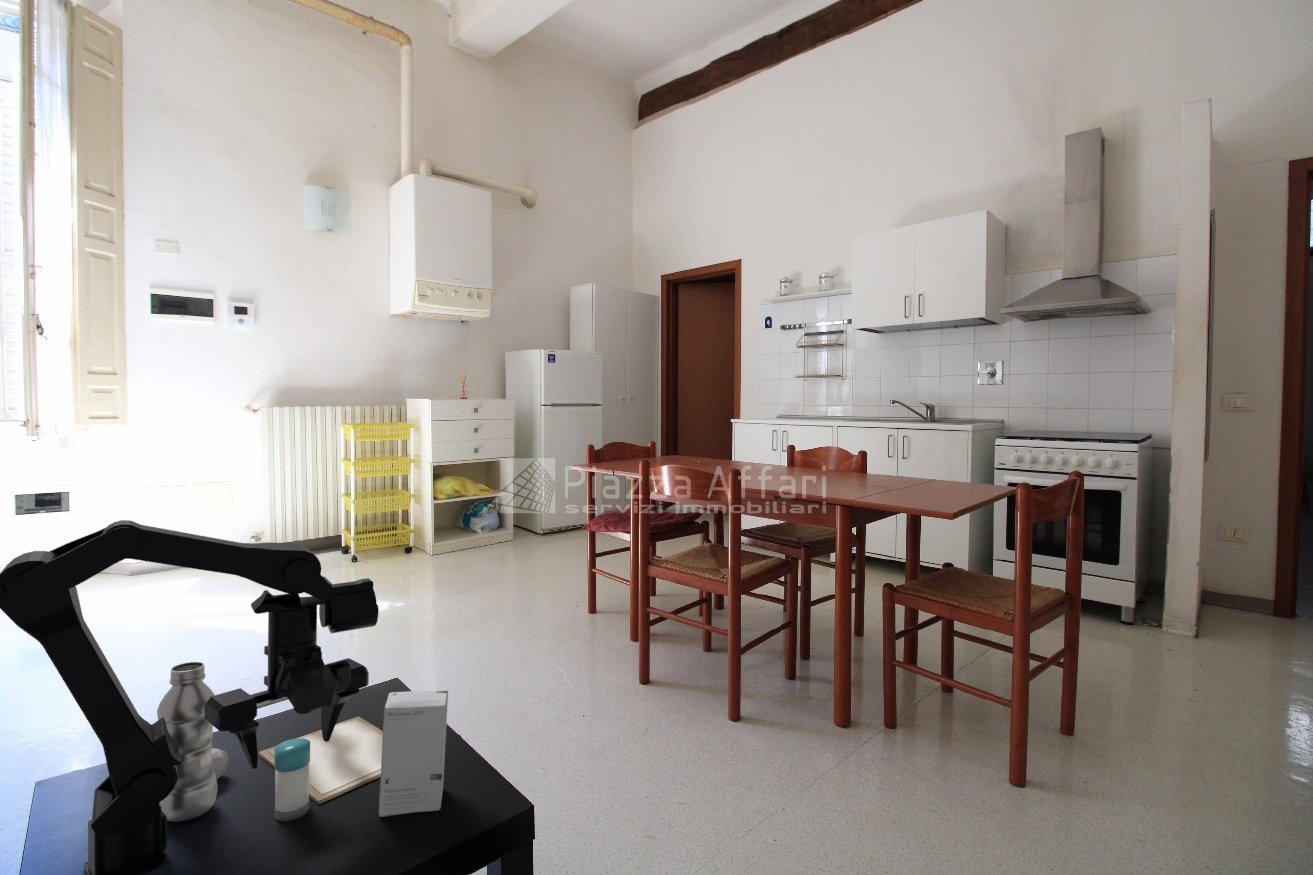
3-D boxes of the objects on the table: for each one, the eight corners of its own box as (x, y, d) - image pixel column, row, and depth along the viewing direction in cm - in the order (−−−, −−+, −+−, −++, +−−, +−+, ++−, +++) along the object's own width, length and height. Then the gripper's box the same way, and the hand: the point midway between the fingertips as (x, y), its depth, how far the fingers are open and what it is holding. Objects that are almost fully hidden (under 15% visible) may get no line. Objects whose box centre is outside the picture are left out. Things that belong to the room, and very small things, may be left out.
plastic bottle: (187, 832, 83) (187, 678, 82) (143, 824, 84) (143, 673, 84) (229, 803, 89) (230, 660, 89) (188, 796, 91) (188, 655, 90)
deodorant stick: (282, 825, 85) (282, 757, 85) (268, 812, 87) (269, 746, 87) (315, 810, 88) (315, 745, 88) (301, 798, 91) (301, 735, 90)
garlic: (179, 798, 90) (179, 761, 90) (177, 780, 94) (177, 745, 94) (230, 783, 94) (230, 748, 94) (226, 767, 98) (226, 733, 98)
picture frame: (318, 804, 90) (318, 800, 90) (258, 755, 102) (258, 751, 102) (422, 757, 102) (422, 754, 102) (358, 718, 114) (358, 715, 114)
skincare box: (378, 818, 87) (379, 709, 86) (385, 793, 93) (386, 690, 92) (444, 810, 89) (445, 704, 88) (446, 786, 95) (448, 685, 94)
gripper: (238, 676, 75) (237, 808, 75) (390, 635, 89) (388, 747, 90) (203, 652, 81) (202, 774, 82) (349, 618, 96) (348, 722, 97)
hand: (291, 753), depth 87 cm, fingers open, 9 cm apart
